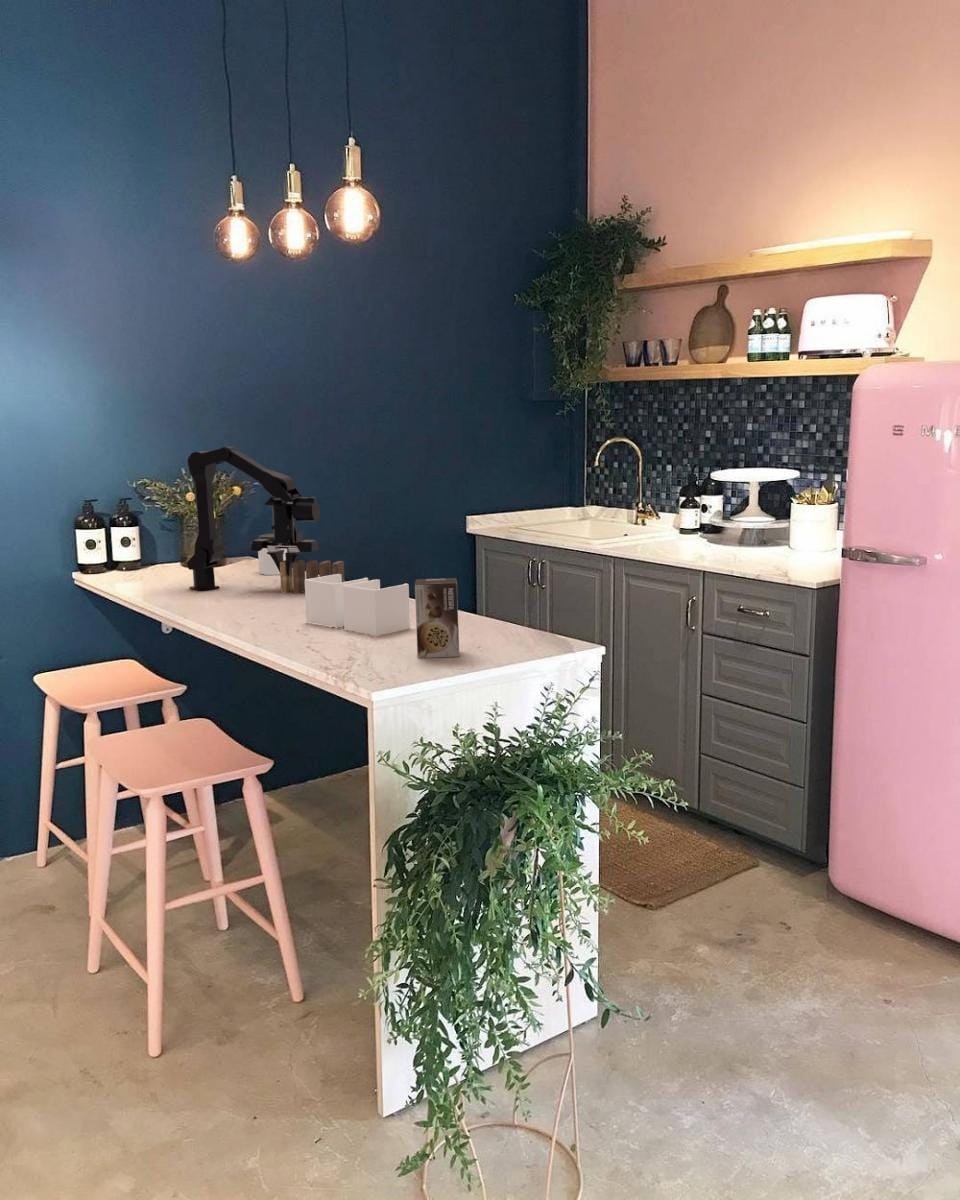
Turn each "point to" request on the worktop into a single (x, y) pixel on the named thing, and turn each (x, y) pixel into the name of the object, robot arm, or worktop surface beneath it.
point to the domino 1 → (285, 578)
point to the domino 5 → (338, 569)
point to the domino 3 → (312, 569)
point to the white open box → (357, 605)
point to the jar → (268, 559)
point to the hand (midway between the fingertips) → (285, 575)
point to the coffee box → (437, 618)
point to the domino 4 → (324, 568)
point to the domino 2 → (298, 576)
